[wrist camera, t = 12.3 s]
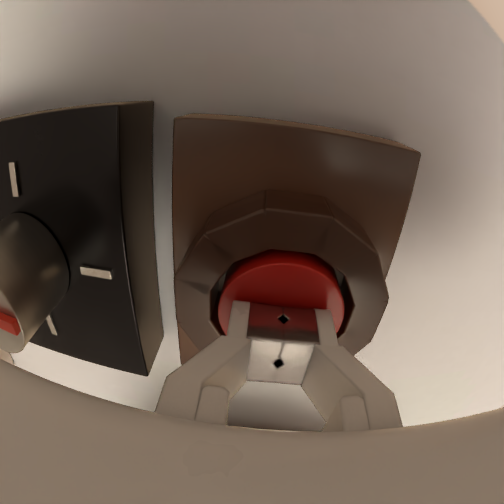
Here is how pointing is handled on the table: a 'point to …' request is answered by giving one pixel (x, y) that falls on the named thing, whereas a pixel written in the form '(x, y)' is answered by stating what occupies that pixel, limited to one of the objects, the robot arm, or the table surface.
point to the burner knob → (28, 279)
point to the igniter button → (282, 284)
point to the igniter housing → (284, 212)
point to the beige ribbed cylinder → (6, 356)
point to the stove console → (92, 224)
